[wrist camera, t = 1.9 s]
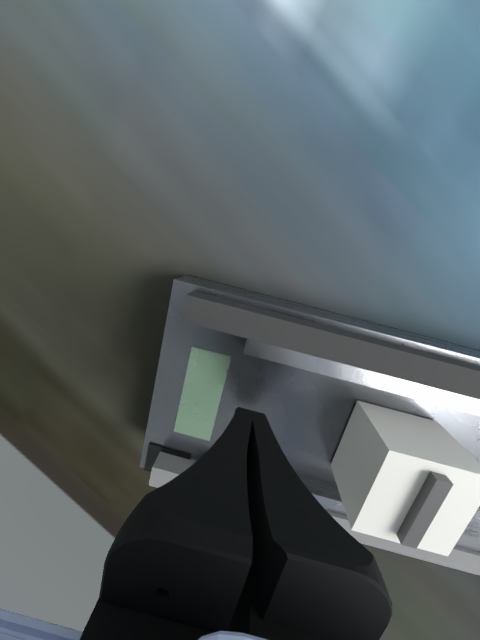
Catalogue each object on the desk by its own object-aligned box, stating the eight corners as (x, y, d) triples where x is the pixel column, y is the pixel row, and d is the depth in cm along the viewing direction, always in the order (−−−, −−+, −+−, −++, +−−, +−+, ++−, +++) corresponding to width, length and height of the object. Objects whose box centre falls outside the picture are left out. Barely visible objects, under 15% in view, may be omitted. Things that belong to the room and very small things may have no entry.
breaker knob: (404, 485, 14) (454, 567, 10) (330, 465, 14) (354, 540, 10) (437, 421, 13) (506, 488, 9) (357, 400, 13) (394, 458, 9)
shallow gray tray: (538, 570, 15) (562, 598, 14) (157, 467, 15) (148, 485, 14) (659, 412, 12) (701, 429, 11) (193, 290, 12) (186, 294, 11)
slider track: (512, 533, 17) (573, 602, 14) (156, 437, 18) (131, 481, 14) (615, 385, 14) (722, 426, 11) (188, 274, 15) (166, 281, 11)
